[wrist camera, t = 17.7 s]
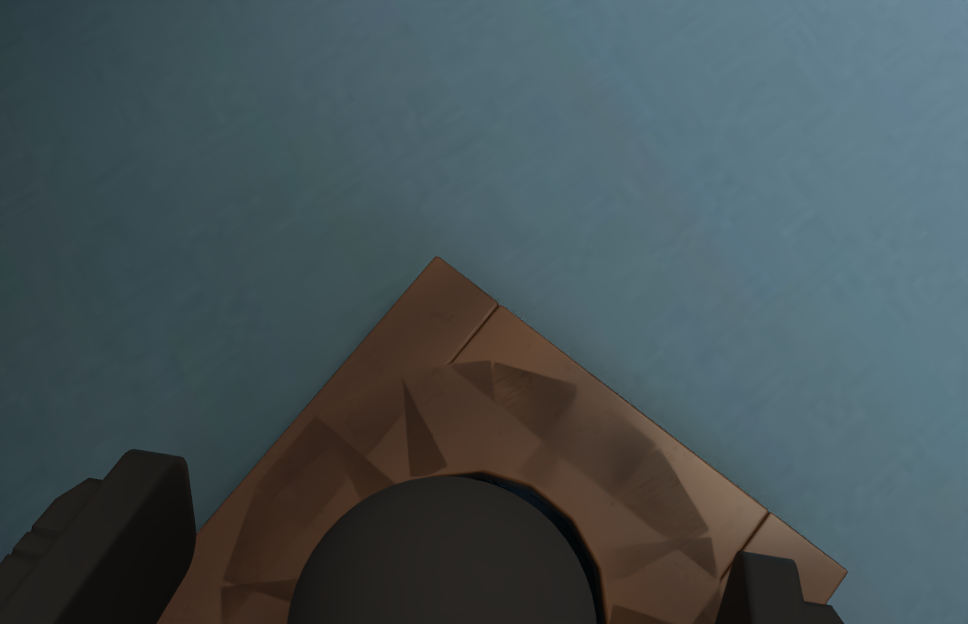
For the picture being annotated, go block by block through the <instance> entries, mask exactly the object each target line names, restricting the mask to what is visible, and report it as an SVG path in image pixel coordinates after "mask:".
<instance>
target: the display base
mask: <svg viewBox="0 0 968 624" xmlns="http://www.w3.org/2000/svg"><path fill="white" fill-rule="evenodd" d="M435 476H453V477H463V478H470V479H474V480H484V479H488V480H491V481H494V482H497V483H501V484H504V485H507V486H511V487H514V488H517V489H521V490H524V491H527V492H531V493H532V494H534V495H535V496H536V497H537V498H538V499H540V500H541V501H542V502H543V503H545V504H546V505H547V506H548V507H549V508H551V509H552V510H553V511H554V512H556V513H557V514H558V515H559V516H560V517H562V518H563V519H564V520H565V521H566V522H568V523H569V524H570V526H571V528H572V530H573V532H574V534H575V535H576V537H577V539H578V541H579V543H580V544H581V546H582V548H583V550H584V552H585V554H586V555H587V557H588V559H589V561H590V563H591V565H592V566H593V570H594V577H595V585H596V593H597V601H598V609H599V617H600V619H599V623H598V624H715V621H716V618H717V614H718V611H719V608H720V604H721V601H722V597H723V594H724V590H725V587H726V584H727V580H728V577H729V573H730V570H731V566H732V563H733V560H734V557H735V555H736V553H737V552H738V551H745V552H751V553H757V554H764V555H770V556H776V557H782V558H788V559H793V560H794V561H795V563H796V565H797V568H798V573H799V578H800V583H801V588H802V593H803V598H804V601H808V602H814V603H819V604H825V605H826V603H827V602H828V600H829V599H830V598H831V596H832V595H833V593H834V592H835V590H836V589H837V588H838V586H839V585H840V583H841V582H842V580H843V579H844V578H845V576H846V575H847V572H848V571H847V570H846V569H845V568H844V567H842V566H841V565H840V564H838V563H837V562H836V561H834V560H833V559H832V558H831V557H829V556H828V555H827V554H825V553H824V552H823V551H821V550H820V549H819V548H818V547H816V546H815V545H814V544H812V543H811V542H810V541H808V540H807V539H806V538H805V537H803V536H802V535H801V534H799V533H798V532H797V531H795V530H794V529H793V528H792V527H790V526H789V525H788V524H786V523H785V522H784V521H782V520H781V519H780V518H779V517H777V516H776V515H775V514H773V513H772V512H768V510H767V508H765V507H764V506H763V505H761V504H760V503H759V502H757V501H756V500H755V499H754V498H752V497H751V496H750V495H748V494H747V493H746V492H744V491H743V490H742V489H741V488H739V487H738V486H737V485H735V484H734V483H733V482H731V481H730V480H729V479H728V478H726V477H725V476H724V475H722V474H721V473H720V472H718V471H717V470H716V469H715V468H713V467H712V466H711V465H709V464H708V463H707V462H705V461H704V460H703V459H702V458H700V457H699V456H698V455H696V454H695V453H694V452H692V451H691V450H690V449H689V448H687V447H686V446H685V445H683V444H682V443H681V442H679V441H678V440H677V439H676V438H674V437H673V436H672V435H670V434H669V433H668V432H666V431H665V430H664V429H663V428H661V427H660V426H659V425H657V424H656V423H655V422H653V421H652V420H651V419H650V418H648V417H647V416H646V415H644V414H643V413H642V412H640V411H639V410H638V409H637V408H635V407H634V406H633V405H631V404H630V403H629V402H627V401H626V400H625V399H624V398H622V397H621V396H620V395H618V394H617V393H616V392H614V391H613V390H612V389H611V388H609V387H608V386H607V385H605V384H604V383H603V382H601V381H600V380H599V379H598V378H596V377H595V376H594V375H592V374H591V373H590V372H588V371H587V370H586V369H585V368H583V367H582V366H581V365H579V364H578V363H577V362H575V361H574V360H573V359H571V358H570V357H569V356H568V355H566V354H565V353H564V352H562V351H561V350H560V349H558V348H557V347H556V346H555V345H553V344H552V343H551V342H549V341H548V340H547V339H545V338H544V337H543V336H542V335H540V334H539V333H538V332H536V331H535V330H534V329H532V328H531V327H530V326H529V325H527V324H526V323H525V322H523V321H522V320H521V319H519V318H518V317H517V316H516V315H514V314H513V313H512V312H510V311H509V310H508V309H506V308H505V307H504V306H502V305H500V306H499V303H498V302H497V301H496V300H495V299H493V298H492V297H491V296H489V295H488V294H487V293H485V292H484V291H483V290H482V289H480V288H479V287H478V286H476V285H475V284H474V283H472V282H471V281H470V280H469V279H467V278H466V277H465V276H463V275H462V274H461V273H459V272H458V271H457V270H456V269H454V268H453V267H452V266H450V265H449V264H448V263H446V262H445V261H444V260H443V259H441V258H440V257H437V256H436V257H435V258H434V259H433V260H432V261H431V262H430V263H429V264H428V266H427V267H426V268H425V269H424V270H423V271H422V273H421V274H420V275H419V276H418V277H417V278H416V280H415V281H414V282H413V283H412V284H411V285H410V286H409V288H408V289H407V290H406V291H405V292H404V293H403V295H402V296H401V297H400V298H399V299H398V300H397V302H396V303H395V304H394V305H393V306H392V307H391V309H390V310H389V311H388V312H387V313H386V314H385V316H384V317H383V318H382V319H381V320H380V321H379V322H378V324H377V325H376V326H375V327H374V328H373V329H372V331H371V332H370V333H369V334H368V335H367V336H366V338H365V339H364V340H363V341H362V342H361V343H360V345H359V346H358V347H357V348H356V349H355V350H354V352H353V353H352V354H351V355H350V356H349V357H348V358H347V360H346V361H345V362H344V363H343V364H342V365H341V367H340V368H339V369H338V370H337V371H336V372H335V374H334V375H333V376H332V377H331V378H330V379H329V381H328V382H327V383H326V384H325V385H324V386H323V388H322V389H321V390H320V391H319V392H318V393H317V394H316V396H315V397H314V398H313V399H312V400H311V401H310V403H309V404H308V405H307V406H306V407H305V408H304V410H303V411H302V412H301V413H300V414H299V415H298V417H297V418H296V419H295V420H294V421H293V422H292V424H291V425H290V426H289V427H288V428H287V429H286V430H285V432H284V433H283V434H282V435H281V436H280V437H279V439H278V440H277V441H276V442H275V443H274V444H273V446H272V447H271V448H270V449H269V450H268V451H267V453H266V454H265V455H264V456H263V457H262V458H261V460H260V461H259V462H258V463H257V464H256V465H255V466H254V468H253V469H252V470H251V471H250V472H249V473H248V475H247V476H246V477H245V478H244V479H243V480H242V482H241V483H240V484H239V485H238V486H237V487H236V489H235V490H234V491H233V492H232V493H231V494H230V496H229V497H228V498H227V499H226V500H225V501H224V502H223V504H222V505H221V506H220V507H219V508H218V509H217V511H216V512H215V513H214V514H213V515H212V516H211V518H210V519H209V520H208V521H207V522H206V523H205V525H204V526H203V527H202V528H201V529H200V530H199V532H198V533H197V534H196V545H195V551H194V555H193V559H192V562H191V565H190V567H189V570H188V572H187V574H186V576H185V577H184V579H183V581H182V582H181V584H180V586H179V587H178V589H177V591H176V592H175V594H174V596H173V597H172V599H171V601H170V602H169V604H168V606H167V607H166V609H165V610H164V612H163V614H162V615H161V617H160V619H159V620H158V622H157V624H287V620H288V613H289V607H290V604H291V600H292V596H293V593H294V589H295V586H296V584H297V581H298V579H299V576H300V574H301V572H302V569H303V567H304V565H305V564H306V562H307V560H308V558H309V556H310V555H311V553H312V551H313V550H314V548H315V547H316V546H317V544H318V543H319V541H320V540H321V539H322V537H323V536H324V535H325V533H326V532H327V531H328V530H329V529H330V528H331V527H332V526H333V525H334V524H335V523H336V522H337V521H338V519H339V518H340V517H342V516H343V515H344V514H345V513H346V512H348V511H349V510H350V509H351V508H352V507H354V506H355V505H356V504H358V503H359V502H361V501H363V500H364V499H366V498H367V497H369V496H370V495H372V494H374V493H376V492H378V491H380V490H383V489H385V488H387V487H389V486H392V485H395V484H398V483H401V482H404V481H408V480H412V479H418V478H424V477H435Z"/></svg>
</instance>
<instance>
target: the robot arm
mask: <svg viewBox="0 0 968 624" xmlns="http://www.w3.org/2000/svg"><path fill="white" fill-rule="evenodd" d="M195 545H196V527H195V519H194V511H193V504H192V496H191V488H190V481H189V473H188V467H187V463H186V461H185V459H184V458H182V457H180V456H173V455H167V454H161V453H155V452H149V451H143V450H137V449H132V450H129V451H128V452H126V453H125V454H124V455H123V456H122V457H121V459H120V460H119V461H118V462H117V464H116V465H115V466H114V467H113V468H112V470H111V471H110V472H109V473H108V475H107V476H106V477H105V478H104V479H103V480H99V479H93V478H88V479H86V480H85V481H83V482H82V483H80V484H78V485H77V486H75V487H74V488H72V489H71V490H69V491H67V492H66V493H64V494H63V495H61V496H60V497H58V498H57V499H55V500H54V501H53V502H52V504H51V505H50V506H49V507H48V508H47V509H46V511H45V512H44V513H43V514H42V515H41V516H40V518H39V519H38V520H37V521H36V522H35V523H34V525H33V526H32V530H31V532H27V533H26V534H25V535H24V536H23V537H22V538H21V540H20V541H19V542H18V543H17V544H16V545H15V547H14V548H13V552H12V554H11V555H9V554H8V555H7V556H6V557H5V558H4V559H3V561H2V562H1V563H0V624H157V622H158V620H159V619H160V617H161V615H162V614H163V612H164V610H165V609H166V607H167V606H168V604H169V602H170V601H171V599H172V597H173V596H174V594H175V592H176V591H177V589H178V587H179V586H180V584H181V582H182V581H183V579H184V577H185V576H186V574H187V572H188V570H189V567H190V565H191V562H192V559H193V555H194V551H195ZM715 624H844V623H843V622H842V620H841V619H840V617H839V616H838V614H837V613H836V611H835V610H834V609H833V607H832V606H831V605H825V604H819V603H814V602H808V601H804V598H803V593H802V588H801V583H800V578H799V573H798V568H797V565H796V563H795V561H794V560H793V559H788V558H782V557H776V556H770V555H764V554H757V553H751V552H745V551H738V552H737V553H736V555H735V557H734V560H733V563H732V566H731V570H730V573H729V577H728V580H727V584H726V587H725V590H724V594H723V597H722V601H721V604H720V608H719V611H718V614H717V618H716V621H715Z"/></svg>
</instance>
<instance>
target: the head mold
mask: <svg viewBox="0 0 968 624" xmlns="http://www.w3.org/2000/svg"><path fill="white" fill-rule="evenodd" d="M287 624H597V622H596V613H595V608H594V603H593V598H592V594H591V591H590V588H589V584H588V581H587V578H586V575H585V573H584V571H583V569H582V567H581V565H580V562H579V560H578V558H577V556H576V555H575V553H574V551H573V550H572V548H571V547H570V545H569V543H568V542H567V540H566V539H565V538H564V536H563V535H562V534H561V533H560V532H559V530H558V529H557V528H556V527H555V526H554V524H553V523H552V522H551V521H550V520H548V519H547V518H546V517H545V516H544V515H543V514H542V513H541V512H540V511H539V510H538V509H536V508H535V507H533V506H532V505H531V504H529V503H528V502H527V501H525V500H524V499H522V498H520V497H519V496H517V495H515V494H513V493H511V492H509V491H507V490H506V489H503V488H500V487H498V486H495V485H492V484H490V483H487V482H483V481H478V480H474V479H470V478H463V477H453V476H435V477H424V478H418V479H412V480H408V481H404V482H401V483H398V484H395V485H392V486H389V487H387V488H385V489H383V490H380V491H378V492H376V493H374V494H372V495H370V496H369V497H367V498H366V499H364V500H363V501H361V502H359V503H358V504H356V505H355V506H354V507H352V508H351V509H350V510H349V511H348V512H346V513H345V514H344V515H343V516H342V517H340V518H339V519H338V521H337V522H336V523H335V524H334V525H333V526H332V527H331V528H330V529H329V530H328V531H327V532H326V533H325V535H324V536H323V537H322V539H321V540H320V541H319V543H318V544H317V546H316V547H315V548H314V550H313V551H312V553H311V555H310V556H309V558H308V560H307V562H306V564H305V565H304V567H303V569H302V572H301V574H300V576H299V579H298V581H297V584H296V586H295V589H294V593H293V596H292V600H291V604H290V607H289V613H288V620H287Z"/></svg>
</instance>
